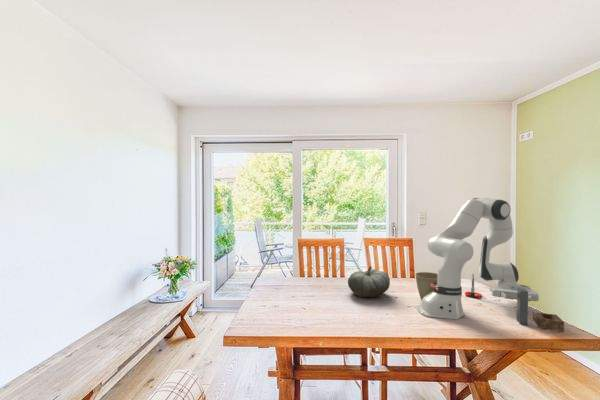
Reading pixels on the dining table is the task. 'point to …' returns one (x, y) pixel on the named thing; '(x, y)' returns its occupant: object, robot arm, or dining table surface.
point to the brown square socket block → (548, 321)
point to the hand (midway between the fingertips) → (517, 298)
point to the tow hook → (472, 293)
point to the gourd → (369, 283)
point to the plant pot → (425, 283)
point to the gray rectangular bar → (522, 306)
